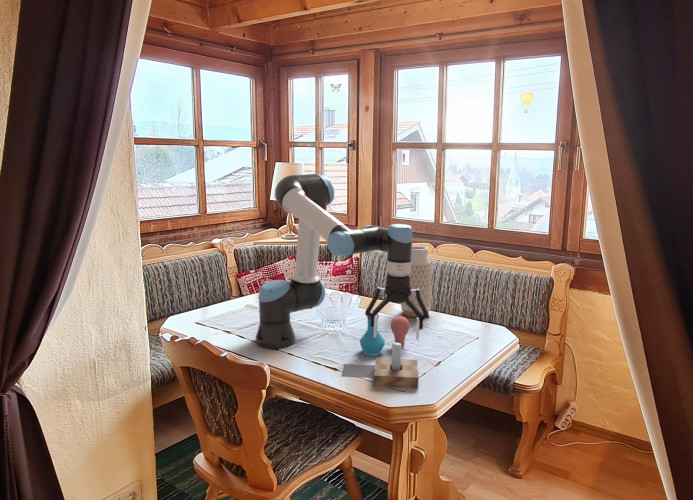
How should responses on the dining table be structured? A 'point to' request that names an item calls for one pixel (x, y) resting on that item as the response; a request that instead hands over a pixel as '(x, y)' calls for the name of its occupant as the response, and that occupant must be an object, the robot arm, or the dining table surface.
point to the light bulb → (400, 329)
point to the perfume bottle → (372, 340)
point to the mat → (358, 370)
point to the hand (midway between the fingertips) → (396, 337)
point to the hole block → (396, 373)
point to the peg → (396, 356)
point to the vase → (419, 280)
